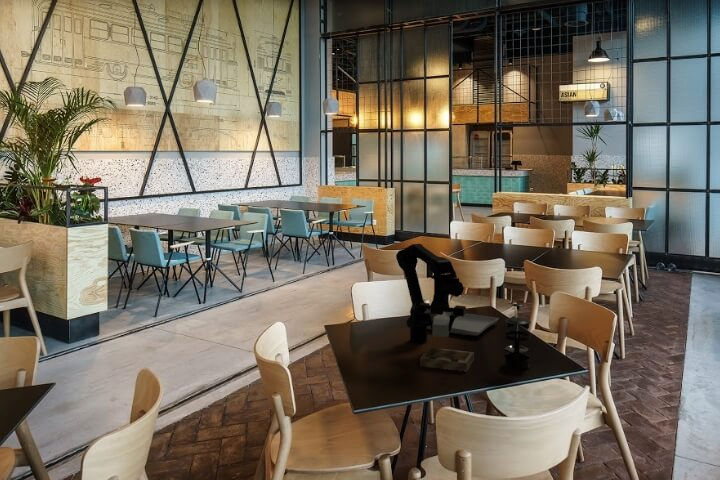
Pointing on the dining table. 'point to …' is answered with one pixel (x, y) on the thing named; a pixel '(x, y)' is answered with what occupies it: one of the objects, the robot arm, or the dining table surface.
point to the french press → (517, 344)
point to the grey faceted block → (440, 327)
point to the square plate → (468, 323)
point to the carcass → (447, 359)
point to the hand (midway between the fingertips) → (441, 330)
